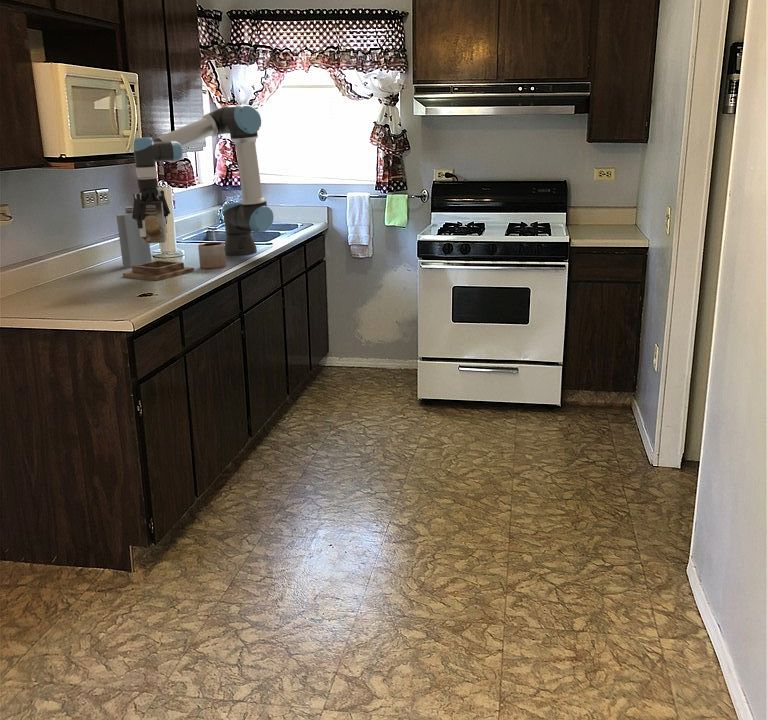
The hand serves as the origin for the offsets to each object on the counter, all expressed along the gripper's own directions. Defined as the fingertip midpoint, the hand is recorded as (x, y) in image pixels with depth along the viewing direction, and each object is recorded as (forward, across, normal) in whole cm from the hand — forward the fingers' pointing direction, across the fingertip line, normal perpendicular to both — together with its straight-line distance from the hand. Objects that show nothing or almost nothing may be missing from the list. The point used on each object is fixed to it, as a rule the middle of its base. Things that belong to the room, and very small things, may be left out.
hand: (153, 234), depth 322 cm
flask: (+16, -12, -27) cm, 34 cm away
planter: (+16, -21, +10) cm, 28 cm away
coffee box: (+3, 0, 0) cm, 3 cm away
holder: (+16, 0, 0) cm, 16 cm away
